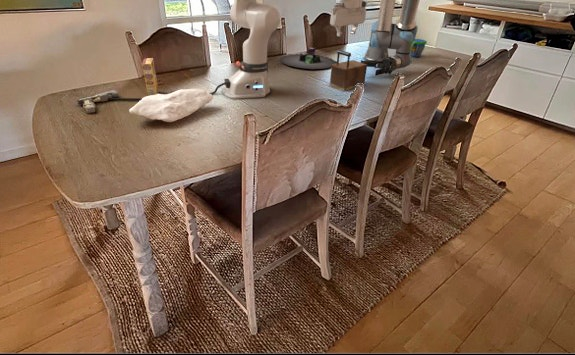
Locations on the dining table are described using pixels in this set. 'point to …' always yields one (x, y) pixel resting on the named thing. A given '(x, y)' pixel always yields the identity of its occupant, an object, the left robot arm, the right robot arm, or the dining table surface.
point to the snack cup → (417, 47)
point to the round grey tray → (308, 60)
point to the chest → (347, 78)
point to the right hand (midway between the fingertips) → (365, 69)
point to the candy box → (150, 76)
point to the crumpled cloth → (171, 104)
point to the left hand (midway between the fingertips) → (346, 35)
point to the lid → (347, 62)
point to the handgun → (95, 100)
